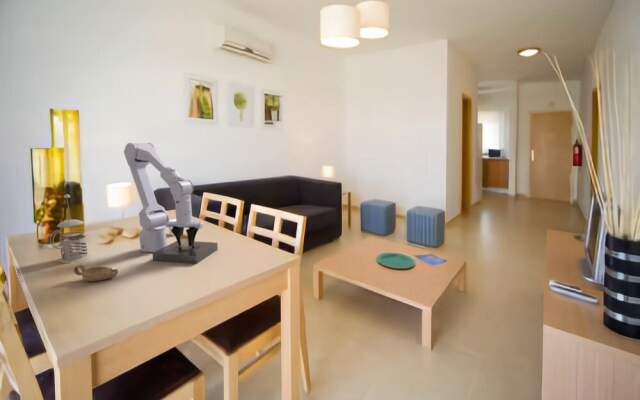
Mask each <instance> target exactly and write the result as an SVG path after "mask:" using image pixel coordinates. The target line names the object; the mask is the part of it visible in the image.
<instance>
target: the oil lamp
mask: <svg viewBox="0 0 640 400" xmlns="http://www.w3.org/2000/svg"><path fill="white" fill-rule="evenodd" d="M79 269H81V272H80V271H79ZM118 273H119V270H118V268H115V269H113V268H112V267H108V266H104V265H103V266H94V267H89V268H86V267H85V265H83V264H77V265H75V267H74V268H73V274H75V275H76V276H81V277H82V279H83V280H84V281H87V282H98V281H104V280H109V279H112V278H114V277H116V276H117V275H118Z"/></svg>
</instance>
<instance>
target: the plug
mask: <svg viewBox="0 0 640 400" xmlns="http://www.w3.org/2000/svg"><path fill="white" fill-rule="evenodd" d="M180 243H181V250H189V249H192V246H189V241H188V235H187V233H185V234H184V233H183V235H180Z"/></svg>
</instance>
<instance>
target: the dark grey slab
mask: <svg viewBox="0 0 640 400" xmlns="http://www.w3.org/2000/svg"><path fill="white" fill-rule="evenodd" d="M167 245H168V246H166V247H164V248H162V249H159V250H157V251H155V252H151V254H152V261H153V262H168V263H169V262H170V263H180V264H181V263H182V264H196V265H197V264H199V263H200V262H202V261H203V260H204V259H206V258H208V257H210V256H211V255H212V254H214V253H215V252H217V251H218V250H219V249H218V242H212V241H195V240H194V245H192V249H189V250H181V246H179V244H178V242H177V240H176V241H174V242H172V243H169V244H167Z"/></svg>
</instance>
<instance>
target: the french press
mask: <svg viewBox="0 0 640 400" xmlns="http://www.w3.org/2000/svg"><path fill="white" fill-rule="evenodd" d="M63 198H65V199H66V203H67V210H68V217H69V219H67V220H63V221H61V222H59V223H58V224H57V225H56V227H57V228H62V229H63V228H64V229H67V228H70V230H71V231H70V232H65V233H62V230H60V229H56V230H54V231H53V232H52V233H51V234H50V238H49V241H50V244H51V246H52V247H53V248H55V249H57V250H59V251H60V254H61V258H60V260H59V261H60V262H62V263H61V264H72V263H71V262H74V263H79V262H83V261H86V260H89V259H90V258H91V257H92V255H91V254H89V253H88V246H87V240H86V235H84V233H85V232H83V231H73V230H72V227H78V226H81V225H84V223H85V221H82V220H80V219H72V218H71V214H70V213H71V212H70V208H69V207H70V206H69V200H68V199H69V198H71V195H70V194H66V193H65V194H64V195H63ZM53 234H54V235H53ZM57 234H60V236H59V237H60V239H59V245H60V247H57V246H56V244H55V241H54V240H55V236H56V235H57ZM52 237H53V238H52ZM85 259H86V260H85ZM82 260H83V261H82ZM78 261H79V262H78ZM60 262H59V263H60Z"/></svg>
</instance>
